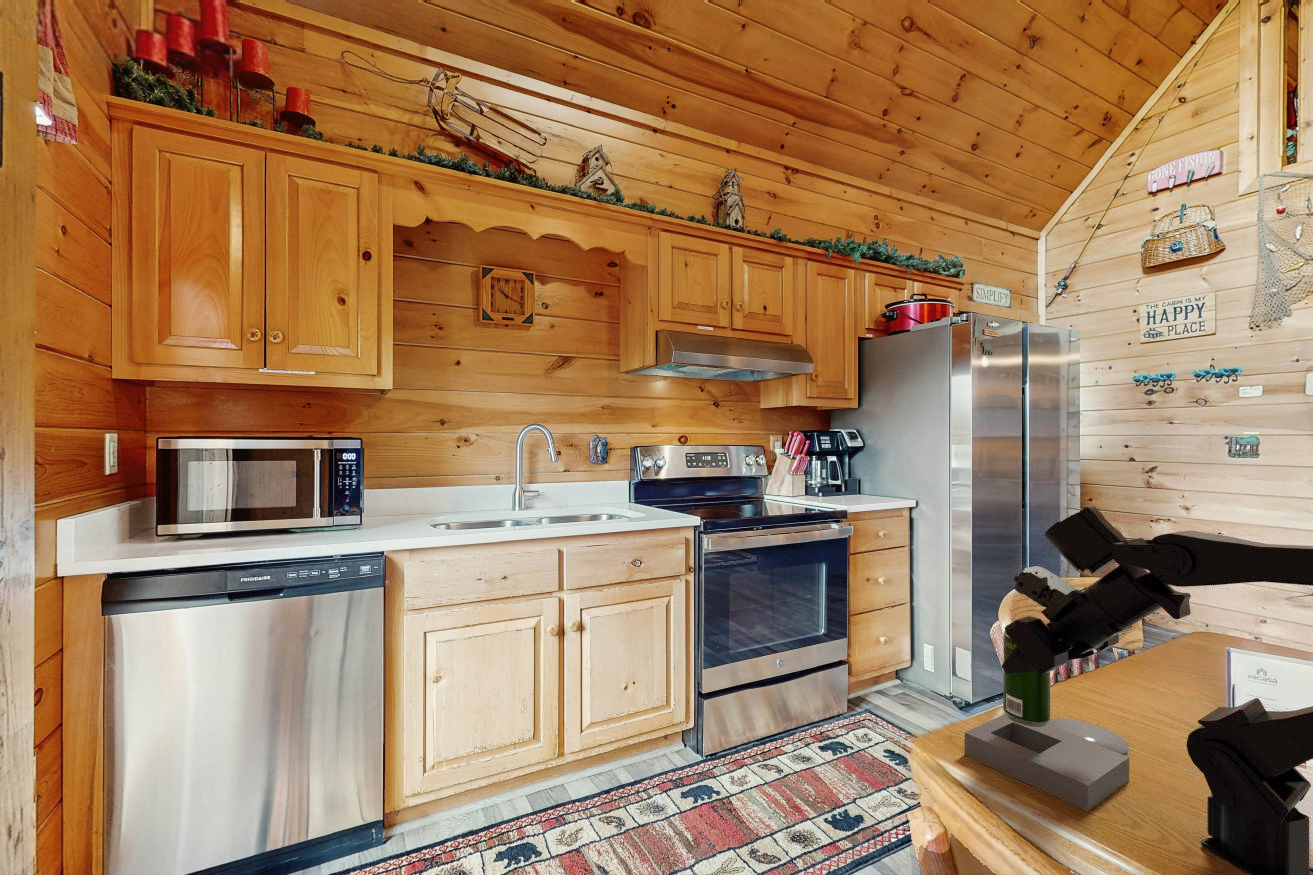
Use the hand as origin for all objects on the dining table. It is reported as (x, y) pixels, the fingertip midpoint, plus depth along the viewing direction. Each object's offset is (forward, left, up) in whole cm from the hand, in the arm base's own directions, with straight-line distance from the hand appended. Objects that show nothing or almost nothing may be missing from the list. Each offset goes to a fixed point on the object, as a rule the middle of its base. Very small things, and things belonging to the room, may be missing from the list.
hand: (1015, 665), depth 79 cm
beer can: (-1, 0, -7) cm, 7 cm away
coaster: (+1, -14, -12) cm, 19 cm away
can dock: (-3, -1, -12) cm, 12 cm away
